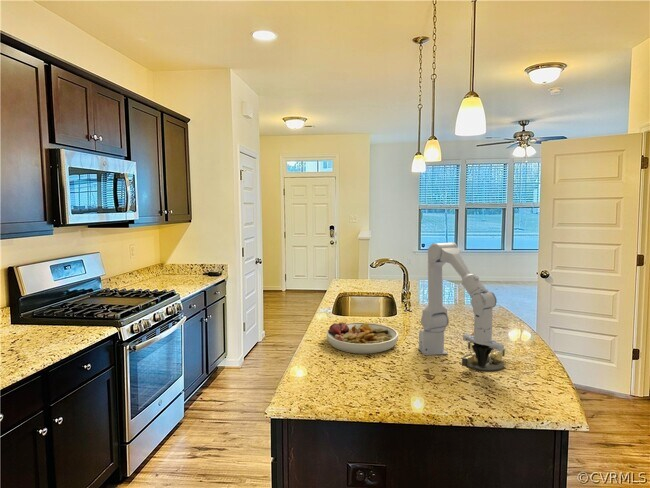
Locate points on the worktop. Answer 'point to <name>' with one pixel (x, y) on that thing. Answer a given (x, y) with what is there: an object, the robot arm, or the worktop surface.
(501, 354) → the knob right
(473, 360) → the knob left
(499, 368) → the level plate
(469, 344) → the knob back
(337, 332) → the bowl
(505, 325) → the worktop surface
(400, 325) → the worktop surface
